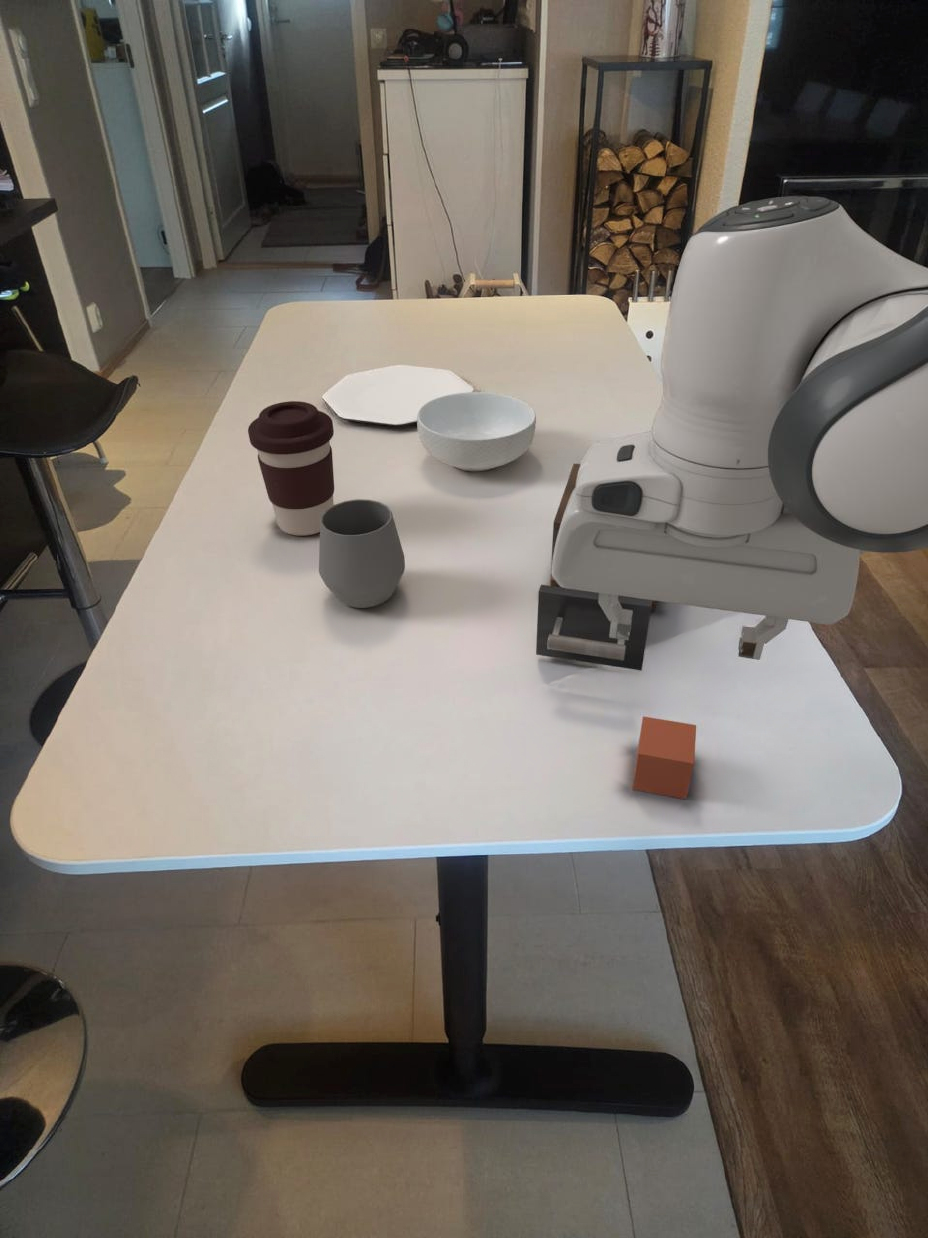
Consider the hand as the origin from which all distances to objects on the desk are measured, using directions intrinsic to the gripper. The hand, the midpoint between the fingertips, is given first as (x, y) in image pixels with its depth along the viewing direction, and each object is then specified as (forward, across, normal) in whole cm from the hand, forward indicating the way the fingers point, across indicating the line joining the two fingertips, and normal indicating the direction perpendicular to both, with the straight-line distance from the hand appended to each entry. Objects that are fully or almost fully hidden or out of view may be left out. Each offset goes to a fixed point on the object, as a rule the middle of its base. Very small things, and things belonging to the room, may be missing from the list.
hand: (683, 643), depth 60 cm
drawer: (+13, +8, -16) cm, 22 cm away
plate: (+14, +48, -71) cm, 87 cm away
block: (+14, 0, 0) cm, 14 cm away
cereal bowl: (+14, +30, -53) cm, 63 cm away
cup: (+14, +34, -18) cm, 41 cm away
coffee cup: (+14, +47, -31) cm, 58 cm away
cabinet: (+14, +8, -30) cm, 34 cm away
